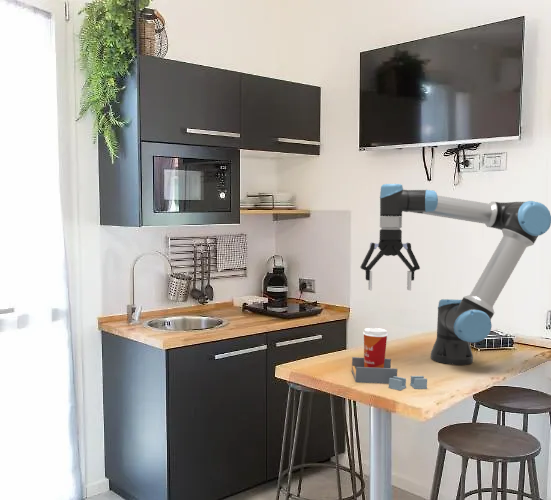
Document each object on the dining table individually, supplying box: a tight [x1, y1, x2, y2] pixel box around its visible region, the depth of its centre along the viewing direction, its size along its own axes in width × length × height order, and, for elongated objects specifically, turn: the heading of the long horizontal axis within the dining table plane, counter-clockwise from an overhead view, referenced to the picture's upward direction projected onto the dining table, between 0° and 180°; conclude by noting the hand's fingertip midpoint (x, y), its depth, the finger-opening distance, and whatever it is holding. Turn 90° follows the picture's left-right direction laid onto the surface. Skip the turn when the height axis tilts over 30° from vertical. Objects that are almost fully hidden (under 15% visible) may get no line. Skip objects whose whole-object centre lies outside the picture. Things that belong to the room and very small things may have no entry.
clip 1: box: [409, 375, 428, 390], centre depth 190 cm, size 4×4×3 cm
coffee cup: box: [362, 327, 389, 368], centre depth 199 cm, size 8×8×15 cm
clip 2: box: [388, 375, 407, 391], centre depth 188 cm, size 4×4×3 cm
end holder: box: [351, 356, 398, 385], centre depth 199 cm, size 13×14×5 cm
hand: (389, 290), depth 210 cm, fingers open, 13 cm apart
